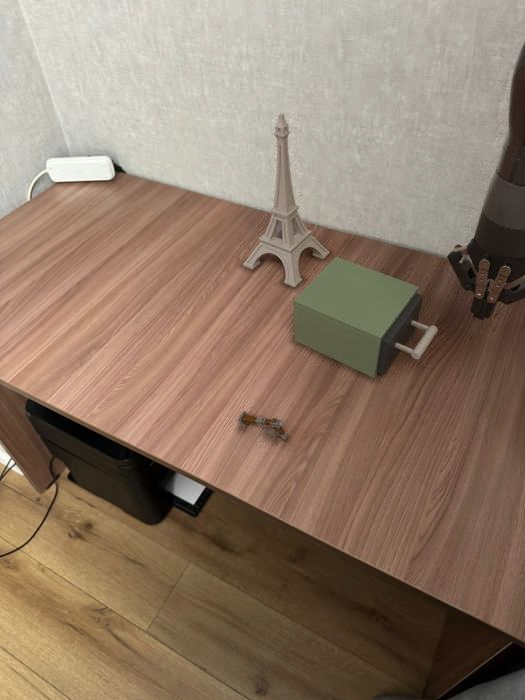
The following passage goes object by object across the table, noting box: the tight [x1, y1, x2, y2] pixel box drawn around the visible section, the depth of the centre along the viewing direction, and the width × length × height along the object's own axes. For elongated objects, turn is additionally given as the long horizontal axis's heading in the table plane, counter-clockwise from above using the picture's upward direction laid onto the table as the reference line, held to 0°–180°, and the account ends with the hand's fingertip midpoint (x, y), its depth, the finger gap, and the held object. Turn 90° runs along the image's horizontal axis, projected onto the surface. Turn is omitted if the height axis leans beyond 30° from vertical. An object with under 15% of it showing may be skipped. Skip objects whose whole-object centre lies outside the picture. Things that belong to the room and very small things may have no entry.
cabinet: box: [293, 256, 420, 379], centre depth 83 cm, size 16×14×10 cm
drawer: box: [377, 293, 439, 376], centre depth 82 cm, size 19×13×8 cm, turn 54°
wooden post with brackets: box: [237, 410, 289, 442], centre depth 74 cm, size 2×8×4 cm, turn 60°
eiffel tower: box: [242, 112, 331, 288], centre depth 92 cm, size 13×13×30 cm
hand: (480, 315), depth 69 cm, fingers closed
